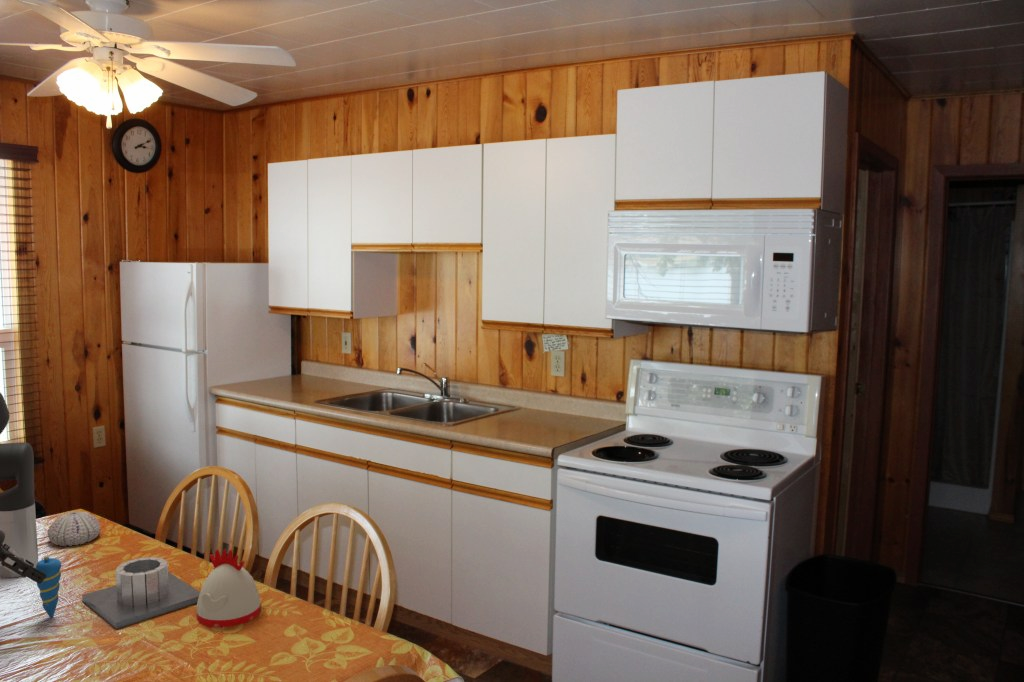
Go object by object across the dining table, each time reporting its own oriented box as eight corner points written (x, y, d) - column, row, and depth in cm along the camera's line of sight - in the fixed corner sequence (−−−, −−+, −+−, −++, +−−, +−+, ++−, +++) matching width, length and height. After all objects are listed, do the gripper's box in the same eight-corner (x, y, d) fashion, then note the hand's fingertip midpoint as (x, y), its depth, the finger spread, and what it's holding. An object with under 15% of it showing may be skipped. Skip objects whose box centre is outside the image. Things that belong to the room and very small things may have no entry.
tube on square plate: (82, 601, 192) (80, 566, 191) (166, 576, 206) (165, 543, 205) (116, 629, 178) (114, 592, 177) (204, 600, 193) (203, 566, 192)
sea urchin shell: (111, 532, 237) (110, 506, 236) (82, 550, 223) (81, 522, 222) (67, 531, 238) (66, 504, 237) (37, 548, 225) (35, 520, 224)
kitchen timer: (218, 597, 195) (216, 536, 193) (271, 603, 192) (270, 541, 190) (184, 623, 181) (181, 558, 180) (240, 630, 179) (238, 564, 177)
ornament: (69, 613, 186) (65, 549, 184) (54, 623, 181) (50, 558, 179) (47, 612, 186) (43, 548, 184) (32, 622, 181) (28, 557, 179)
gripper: (-4, 530, 168) (60, 568, 177) (-23, 513, 177) (38, 550, 187) (-33, 562, 164) (34, 599, 174) (-50, 543, 174) (14, 579, 184)
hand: (36, 573), depth 181 cm, fingers open, 8 cm apart
